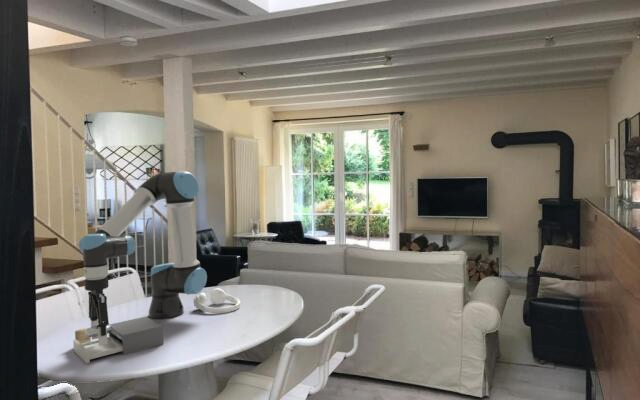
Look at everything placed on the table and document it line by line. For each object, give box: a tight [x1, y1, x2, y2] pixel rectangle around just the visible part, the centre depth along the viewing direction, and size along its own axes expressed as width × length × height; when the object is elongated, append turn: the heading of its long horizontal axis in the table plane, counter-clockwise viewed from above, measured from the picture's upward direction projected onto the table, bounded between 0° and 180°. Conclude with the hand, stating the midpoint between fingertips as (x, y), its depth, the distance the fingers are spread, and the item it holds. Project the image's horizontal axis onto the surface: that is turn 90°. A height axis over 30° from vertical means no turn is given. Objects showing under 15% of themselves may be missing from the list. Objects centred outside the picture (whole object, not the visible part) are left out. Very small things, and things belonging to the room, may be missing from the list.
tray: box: [72, 336, 123, 365], centre depth 160 cm, size 14×17×4 cm
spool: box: [74, 327, 92, 344], centre depth 167 cm, size 5×5×6 cm
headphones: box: [193, 287, 241, 314], centre depth 214 cm, size 20×8×20 cm
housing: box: [108, 316, 164, 356], centre depth 168 cm, size 14×17×7 cm
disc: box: [86, 324, 112, 338], centre depth 160 cm, size 8×8×2 cm
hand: (99, 341), depth 160 cm, fingers closed on disc, 8 cm apart
